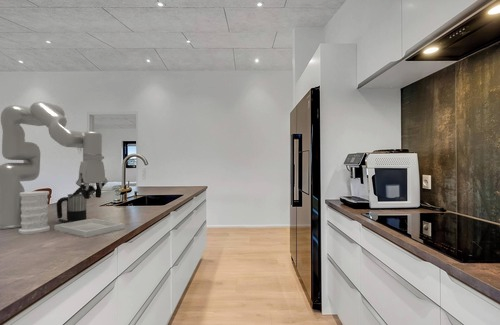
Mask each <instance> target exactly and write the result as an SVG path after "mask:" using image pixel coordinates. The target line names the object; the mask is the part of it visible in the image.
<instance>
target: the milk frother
mask: <svg viewBox="0 0 500 325" xmlns="http://www.w3.org/2000/svg"><path fill="white" fill-rule="evenodd" d="M72 195H73V193H70V194H67V196H64V197H61V198H59V199H58V200H57V202H56V215H57V219H58V220H57V221H58V222H60V223H61V224H64V223H69V222H75V221H81V220H87V200H88V199H84V197H83V195H82V194H81V193H80V194H78V195H76V196H73V197H72V198H71V199H70V198H69V197H71V196H72ZM63 202H66V219H62V217H63V206H62V204H63Z"/></svg>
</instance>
